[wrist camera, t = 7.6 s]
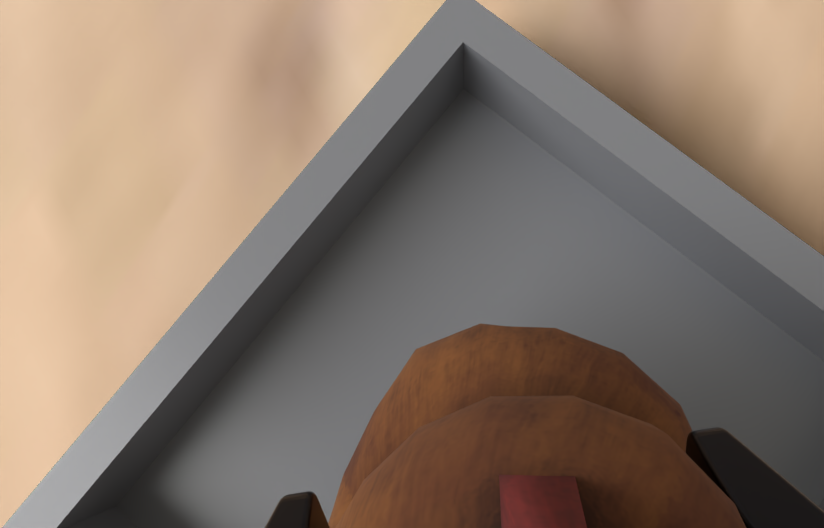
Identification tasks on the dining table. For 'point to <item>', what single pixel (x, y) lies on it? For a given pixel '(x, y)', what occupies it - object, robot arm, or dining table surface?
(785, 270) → the box
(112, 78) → the dining table surface
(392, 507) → the wooden figurine
